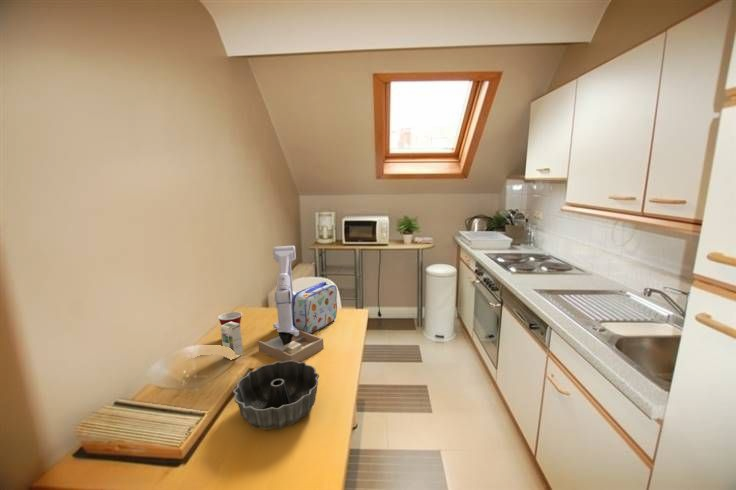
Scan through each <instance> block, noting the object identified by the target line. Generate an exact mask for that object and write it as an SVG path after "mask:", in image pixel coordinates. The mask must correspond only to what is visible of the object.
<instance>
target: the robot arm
mask: <svg viewBox="0 0 736 490" xmlns="http://www.w3.org/2000/svg"><path fill="white" fill-rule="evenodd" d="M272 255H273V259H274V260H275V262H277V263H278V269H279V270H278V271H279V274H278V275H277V277H276V290H275V291H274V302H275V306H276V307H275V308H276V311H277V312H276V313H277V322H275V323H273V324H272V326H273V329H277V330H276V332H277V335H278V336H280V338H281V340H282V342H283V345H286V344H288V343H290V342H291V340H292V337H293V335H294V336H295V337H296V336H298V335H299V330H297V329H296V328H295V327H294V326H293V309H292V300H293V297H294V295H295V294H296V293H297V292H296V291H294V287H293V286H294V285H293V274H292V262H293V261H295V260H296V259H297V255H296V246H295V245H293V244H292V245H283V246H282V245H281V246H274V247H273V249H272Z"/></svg>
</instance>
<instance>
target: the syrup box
mask: <svg viewBox="0 0 736 490" xmlns="http://www.w3.org/2000/svg"><path fill="white" fill-rule="evenodd" d="M220 332H221V341H222V347H223V346H225V347H229V348H231V349H232V350H233V351H234V352H235V354H236V355H241V354H243V355H244V351H243V341H242V340H243V339H242V331H241V323H240V324H239V323H235V322H228V323H226V324H224V325H222V326H220ZM241 356H242V355H241Z"/></svg>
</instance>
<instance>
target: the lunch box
mask: <svg viewBox="0 0 736 490" xmlns="http://www.w3.org/2000/svg"><path fill="white" fill-rule="evenodd" d="M337 291H338V289H337V286H336V285H335V284H332V283H327V281H322V282H319V283H317V284H315V285H313V286H310V287H307V288H304V289H302V290H300V291H298V292H296V294H295V295H294V297H293V300H292V309H293V326H294V327H295V328H296V329H298V330H301V331H304V332H306V333H309V334H312V333H314V332H316V331H318V330H320V329H322V328H325V327H326V326H328V325H329V324H331V323H332V322H334V321H335V320H336V318H337V314H338V306H337V304H338V302H337V299H338V295H337V294H338V292H337Z"/></svg>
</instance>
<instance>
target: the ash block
mask: <svg viewBox="0 0 736 490" xmlns="http://www.w3.org/2000/svg"><path fill="white" fill-rule="evenodd" d="M301 349H302V346H301V344H300V343H297V342H295V341H292V342H290V343H288V344H286V345H284V350H285V352H286V353H288V354H290V355H292V354H293V353H295V352H297V351H299V350H301Z"/></svg>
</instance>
